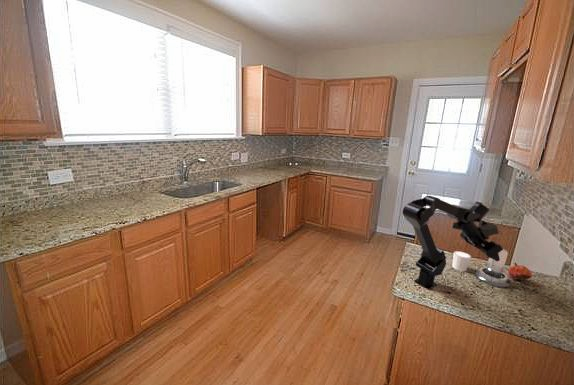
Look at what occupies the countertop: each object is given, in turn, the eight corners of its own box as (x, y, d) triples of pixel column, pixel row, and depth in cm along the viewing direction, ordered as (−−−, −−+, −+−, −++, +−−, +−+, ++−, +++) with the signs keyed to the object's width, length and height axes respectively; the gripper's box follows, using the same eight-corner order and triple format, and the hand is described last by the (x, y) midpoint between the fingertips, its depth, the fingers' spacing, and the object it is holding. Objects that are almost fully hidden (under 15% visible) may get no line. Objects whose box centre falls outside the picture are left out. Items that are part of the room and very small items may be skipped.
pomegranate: (531, 289, 112) (524, 267, 117) (538, 283, 106) (531, 260, 112) (509, 286, 114) (504, 265, 120) (515, 280, 109) (509, 258, 115)
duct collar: (502, 290, 106) (504, 284, 105) (469, 275, 116) (471, 269, 115) (514, 282, 112) (516, 276, 111) (482, 269, 122) (484, 263, 121)
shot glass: (451, 262, 127) (454, 249, 125) (468, 267, 123) (472, 254, 121) (449, 268, 122) (452, 254, 120) (467, 273, 118) (470, 259, 116)
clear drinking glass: (496, 282, 110) (504, 254, 107) (481, 275, 115) (489, 248, 111) (502, 278, 113) (510, 251, 109) (487, 272, 117) (494, 246, 114)
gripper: (504, 225, 98) (526, 254, 100) (473, 210, 116) (492, 234, 118) (477, 243, 100) (500, 271, 103) (451, 225, 118) (470, 249, 121)
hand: (490, 255), depth 111 cm, fingers open, 9 cm apart
